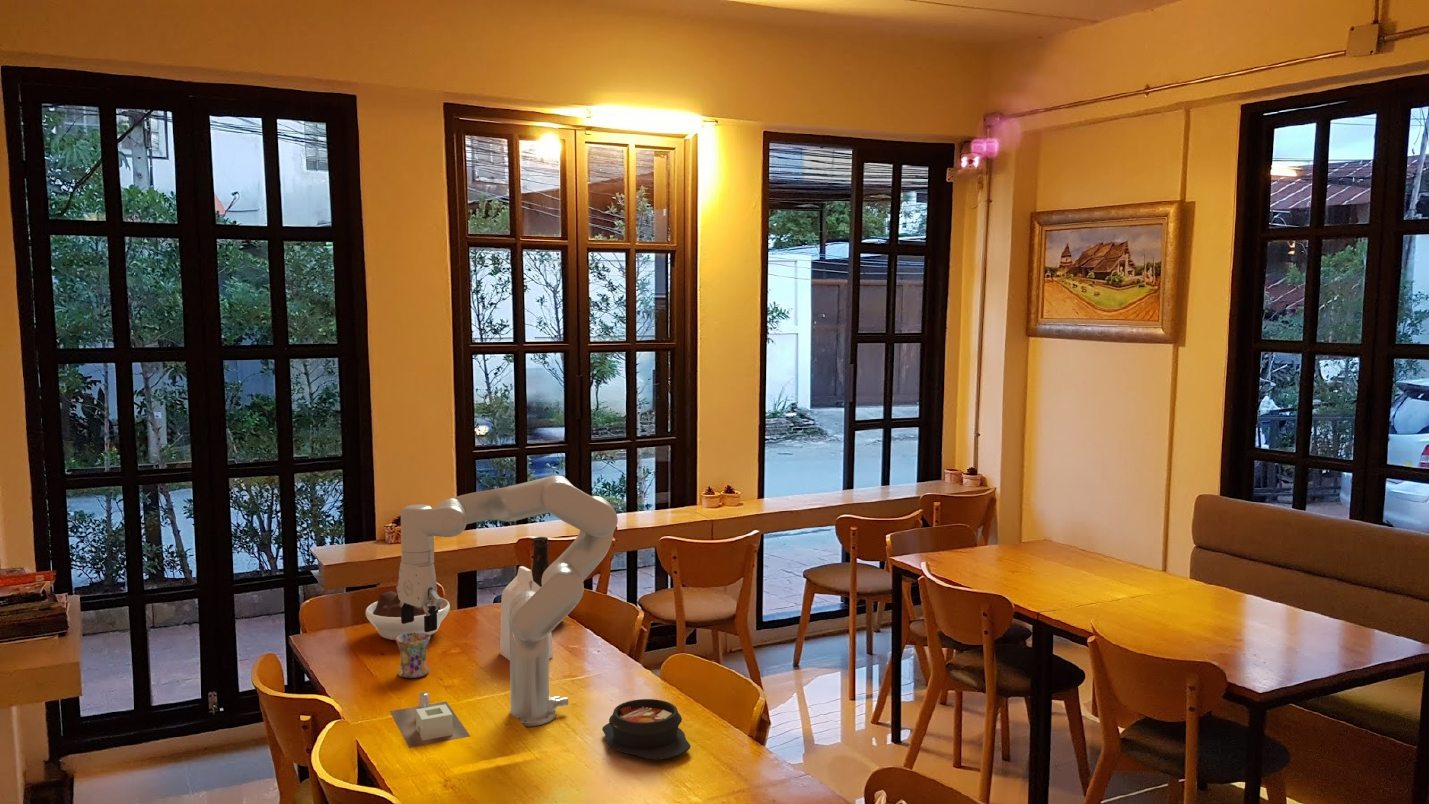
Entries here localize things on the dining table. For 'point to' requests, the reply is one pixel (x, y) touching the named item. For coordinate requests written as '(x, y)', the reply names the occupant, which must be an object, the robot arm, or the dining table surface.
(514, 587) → the milk
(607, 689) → the dining table surface
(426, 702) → the post
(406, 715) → the board
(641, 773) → the dining table surface
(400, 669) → the mug
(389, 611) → the bowl of chocolate mousse
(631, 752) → the casserole
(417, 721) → the white rectangular block
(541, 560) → the glass bottle
